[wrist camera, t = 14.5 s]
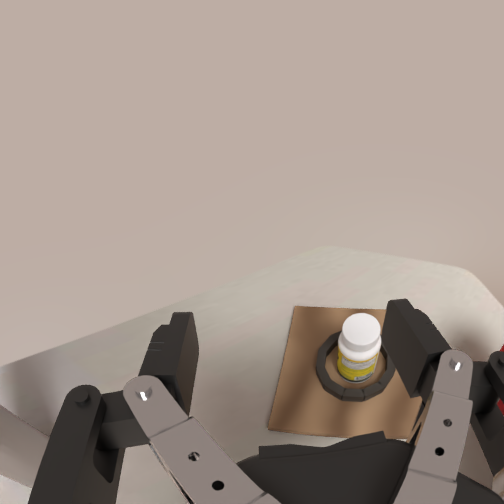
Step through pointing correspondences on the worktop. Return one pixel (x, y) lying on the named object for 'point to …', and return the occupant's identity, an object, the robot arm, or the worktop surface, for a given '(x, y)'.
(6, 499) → the worktop surface
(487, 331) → the worktop surface
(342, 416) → the board
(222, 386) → the worktop surface
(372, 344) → the supplement bottle
